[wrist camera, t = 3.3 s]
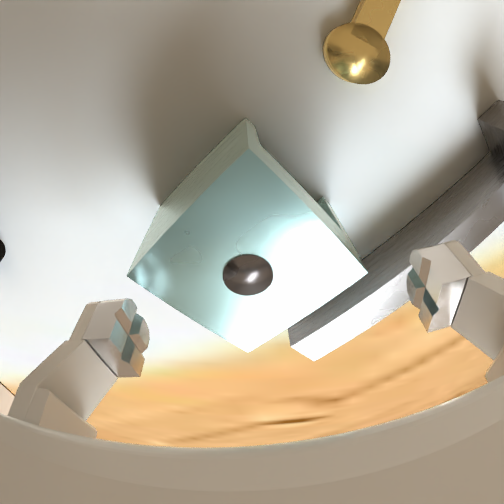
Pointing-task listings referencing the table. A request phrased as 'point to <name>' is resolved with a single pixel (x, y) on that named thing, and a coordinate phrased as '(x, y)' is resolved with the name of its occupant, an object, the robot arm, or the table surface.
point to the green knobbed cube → (245, 246)
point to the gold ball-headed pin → (361, 43)
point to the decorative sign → (2, 250)
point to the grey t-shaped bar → (404, 242)
